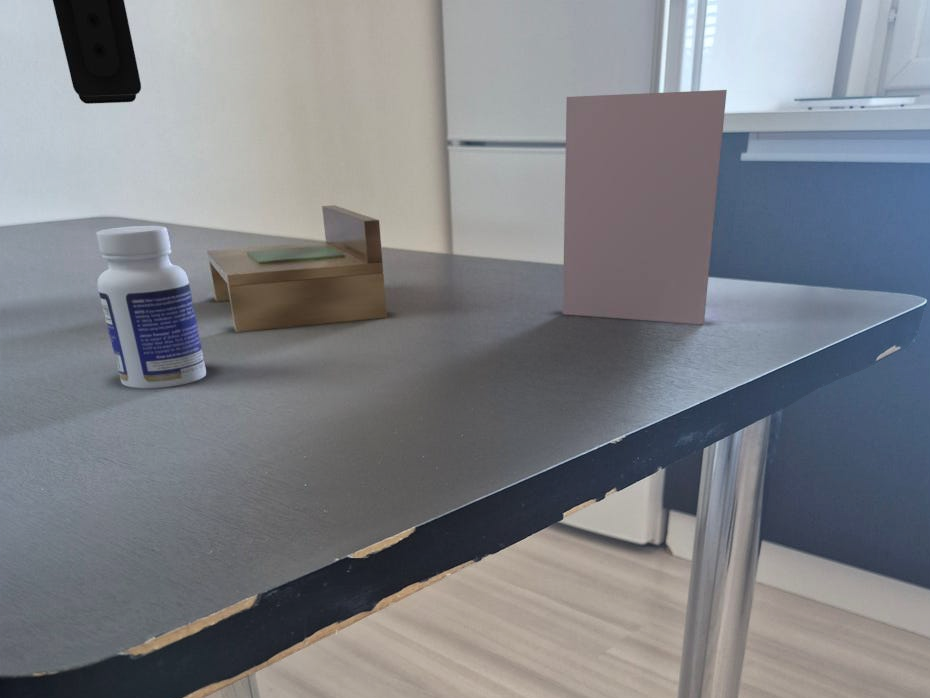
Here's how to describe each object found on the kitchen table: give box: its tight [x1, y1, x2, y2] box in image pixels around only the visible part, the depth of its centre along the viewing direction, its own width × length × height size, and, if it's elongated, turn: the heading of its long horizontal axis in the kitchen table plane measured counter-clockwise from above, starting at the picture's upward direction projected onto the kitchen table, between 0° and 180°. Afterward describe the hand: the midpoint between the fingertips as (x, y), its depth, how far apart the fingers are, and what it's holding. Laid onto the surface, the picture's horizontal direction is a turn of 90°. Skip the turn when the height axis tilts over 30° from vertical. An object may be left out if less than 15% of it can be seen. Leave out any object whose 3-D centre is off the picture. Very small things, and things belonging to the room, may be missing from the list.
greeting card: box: [562, 89, 728, 325], centre depth 64 cm, size 11×7×15 cm, turn 26°
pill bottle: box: [96, 225, 207, 389], centre depth 54 cm, size 5×5×9 cm
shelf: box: [206, 204, 388, 333], centre depth 74 cm, size 12×16×7 cm
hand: (109, 99), depth 48 cm, fingers open, 9 cm apart
